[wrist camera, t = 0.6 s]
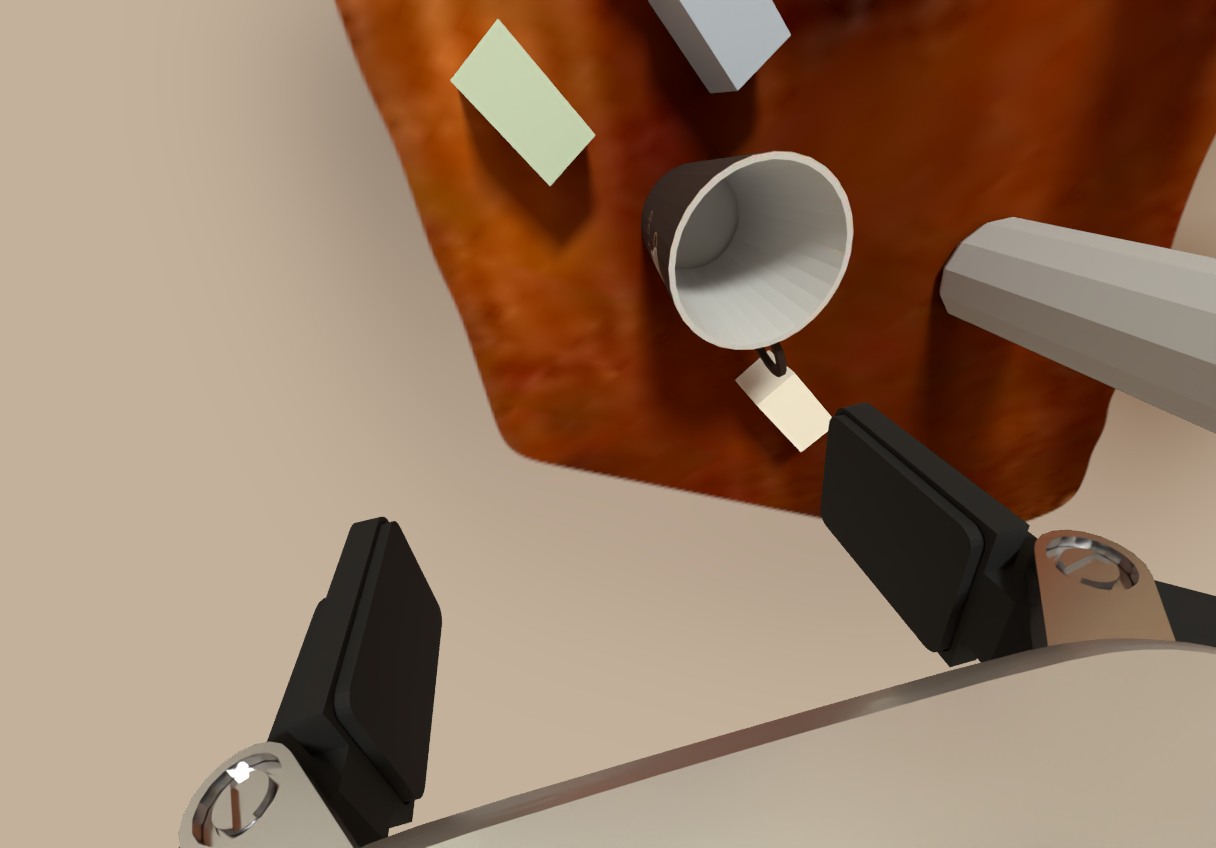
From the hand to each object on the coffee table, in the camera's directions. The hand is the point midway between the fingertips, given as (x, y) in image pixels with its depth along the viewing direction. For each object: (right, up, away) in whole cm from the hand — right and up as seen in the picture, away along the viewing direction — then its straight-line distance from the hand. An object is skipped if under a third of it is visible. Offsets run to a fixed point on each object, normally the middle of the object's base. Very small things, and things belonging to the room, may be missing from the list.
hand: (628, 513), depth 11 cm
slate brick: (+4, +23, +15) cm, 28 cm away
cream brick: (+12, +5, +28) cm, 31 cm away
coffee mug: (+5, +13, +21) cm, 25 cm away
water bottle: (+27, +14, +26) cm, 40 cm away
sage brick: (-5, +18, +16) cm, 25 cm away
